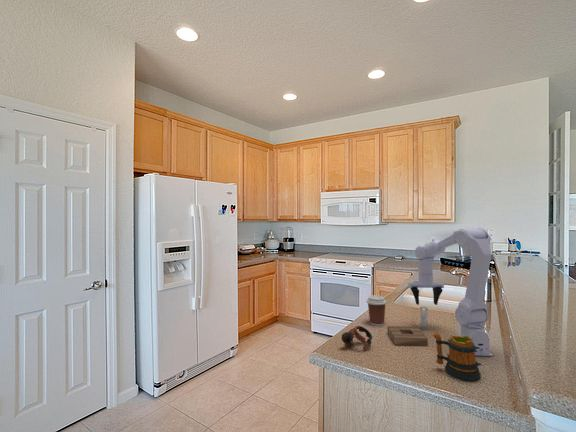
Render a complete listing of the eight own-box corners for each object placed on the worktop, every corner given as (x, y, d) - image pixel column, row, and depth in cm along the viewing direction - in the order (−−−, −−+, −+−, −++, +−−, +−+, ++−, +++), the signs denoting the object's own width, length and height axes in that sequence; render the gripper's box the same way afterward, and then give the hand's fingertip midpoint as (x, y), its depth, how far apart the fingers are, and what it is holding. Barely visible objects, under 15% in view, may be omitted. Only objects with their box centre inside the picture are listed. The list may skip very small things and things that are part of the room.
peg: (429, 329, 126) (428, 309, 126) (421, 329, 127) (421, 308, 127) (426, 327, 129) (426, 306, 129) (419, 327, 130) (419, 306, 130)
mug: (479, 368, 93) (478, 332, 93) (484, 385, 84) (483, 345, 84) (433, 361, 99) (432, 326, 99) (434, 375, 90) (433, 338, 90)
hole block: (427, 345, 111) (427, 337, 111) (395, 345, 112) (394, 337, 112) (417, 333, 122) (416, 326, 123) (387, 333, 124) (387, 325, 124)
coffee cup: (388, 321, 138) (388, 295, 138) (385, 327, 130) (384, 300, 130) (369, 318, 142) (368, 293, 142) (364, 324, 134) (364, 298, 134)
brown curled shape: (355, 339, 119) (365, 324, 117) (368, 359, 111) (379, 342, 109) (332, 338, 113) (342, 321, 111) (344, 358, 105) (355, 341, 103)
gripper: (439, 271, 133) (440, 301, 132) (405, 271, 134) (406, 301, 134) (445, 274, 126) (446, 306, 125) (410, 274, 127) (411, 305, 127)
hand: (426, 304), depth 129 cm, fingers open, 7 cm apart
